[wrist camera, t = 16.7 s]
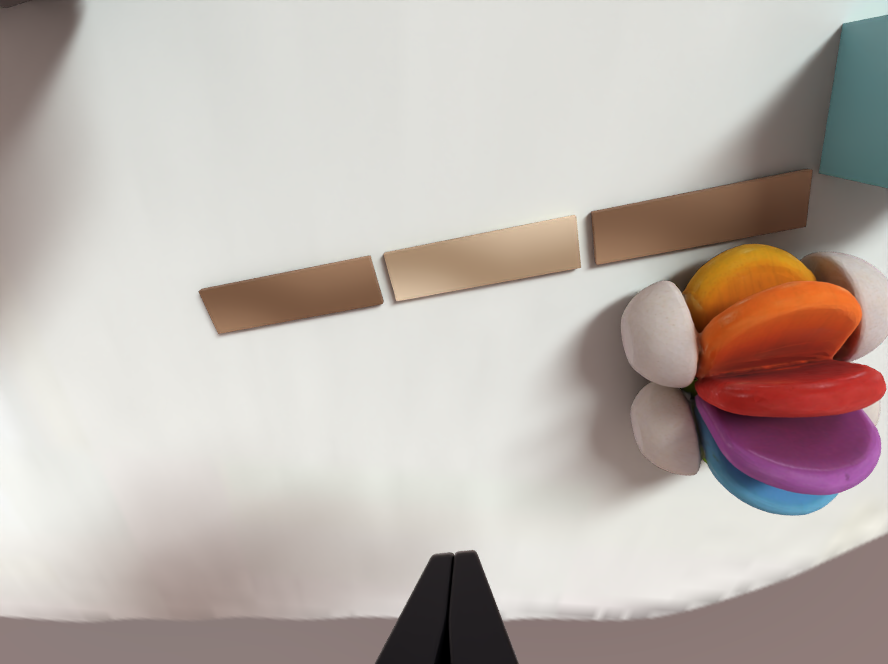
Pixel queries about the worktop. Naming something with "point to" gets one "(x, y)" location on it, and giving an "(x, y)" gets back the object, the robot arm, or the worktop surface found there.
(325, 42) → the worktop surface
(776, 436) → the multicolored white-lobed toy
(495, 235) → the brown segmented strip
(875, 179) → the teal cube
